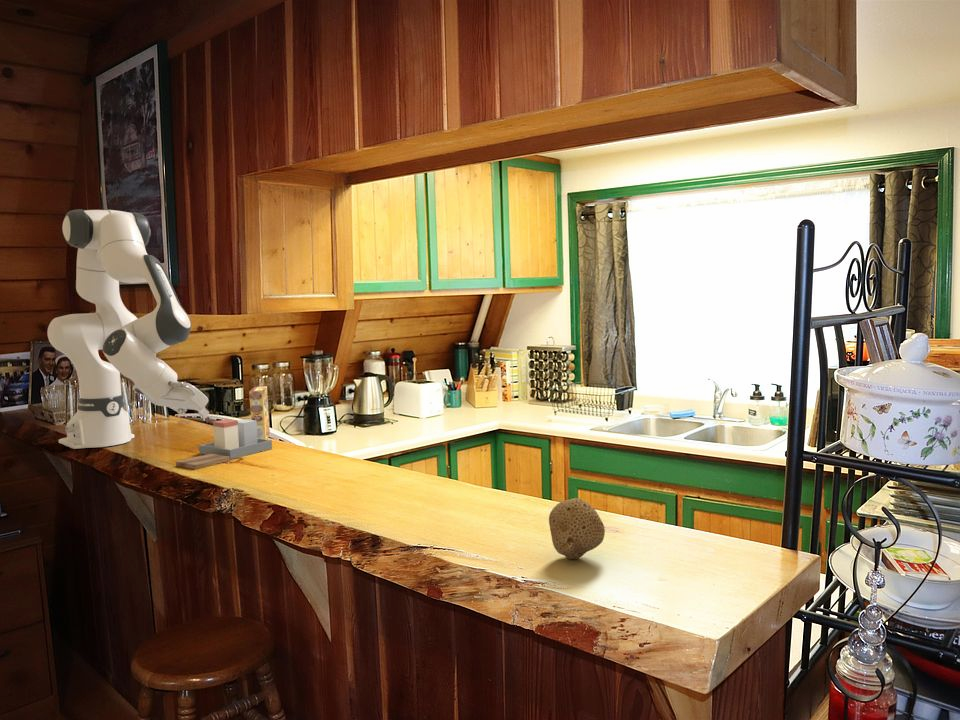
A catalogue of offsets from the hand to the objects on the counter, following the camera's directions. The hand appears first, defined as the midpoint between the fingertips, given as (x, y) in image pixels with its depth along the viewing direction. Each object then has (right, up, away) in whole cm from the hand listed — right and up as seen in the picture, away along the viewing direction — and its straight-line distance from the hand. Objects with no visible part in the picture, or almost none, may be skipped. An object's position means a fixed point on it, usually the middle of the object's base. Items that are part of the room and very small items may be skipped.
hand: (194, 413), depth 203 cm
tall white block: (+9, -11, +15) cm, 20 cm away
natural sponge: (+91, -19, -77) cm, 120 cm away
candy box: (+9, -10, +29) cm, 32 cm away
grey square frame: (+7, -11, +12) cm, 18 cm away
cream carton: (+6, -12, +9) cm, 16 cm away
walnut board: (+3, -13, -2) cm, 13 cm away
